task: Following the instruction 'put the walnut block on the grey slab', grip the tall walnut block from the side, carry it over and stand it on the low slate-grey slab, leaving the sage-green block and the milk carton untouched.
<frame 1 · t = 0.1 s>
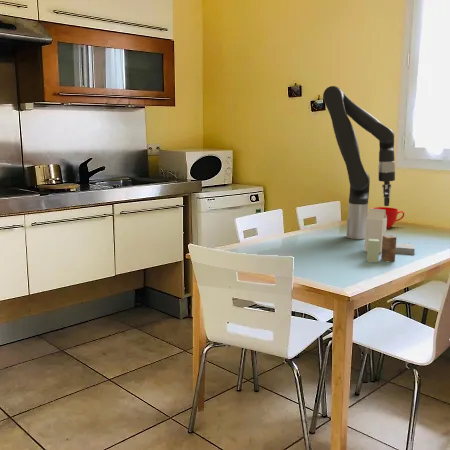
hand: (386, 204, 251), 17 cm above the table, tool pointing down, fingers open, 8 cm apart
sage block: (372, 261, 215), on the table
grey slab: (403, 252, 231), on the table
ceramic cup: (387, 227, 285), on the table
milk carton: (374, 251, 231), on the table
walnut block: (387, 260, 216), on the table
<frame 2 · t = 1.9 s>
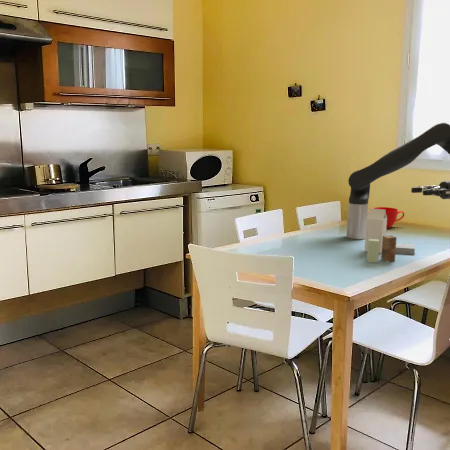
hand: (417, 191, 213), 28 cm above the table, tool horizontal, fingers open, 8 cm apart
nothing on the table moved.
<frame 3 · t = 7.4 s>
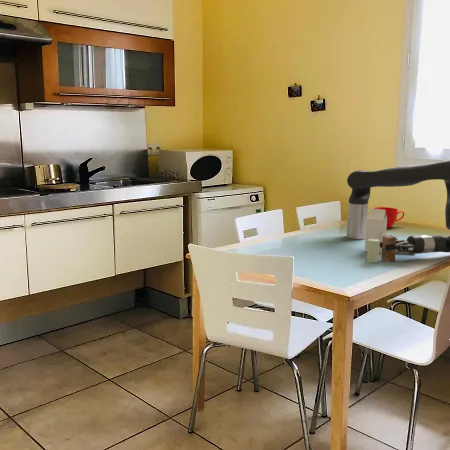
hand: (382, 246, 215), 6 cm above the table, tool horizontal, fingers closed on walnut block, 4 cm apart
walnut block: (388, 260, 216), on the table, touching gripper
everything else where it was.
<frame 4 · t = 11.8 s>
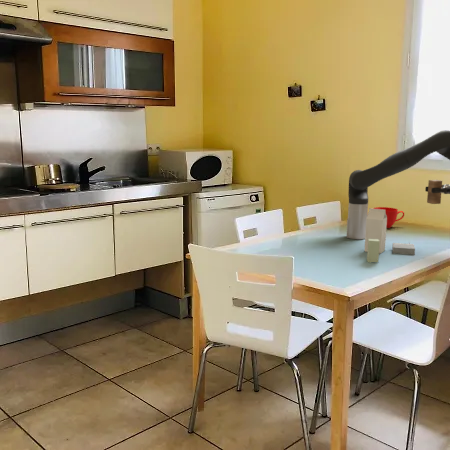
hand: (429, 189, 228), 27 cm above the table, tool horizontal, fingers closed on walnut block, 4 cm apart
walnut block: (433, 203, 230), point 21 cm above the table, touching gripper
everything else where it was.
when the fingers open (10 cm above the table, at t = 16.2 s): walnut block drops 1 cm, resting on grey slab.
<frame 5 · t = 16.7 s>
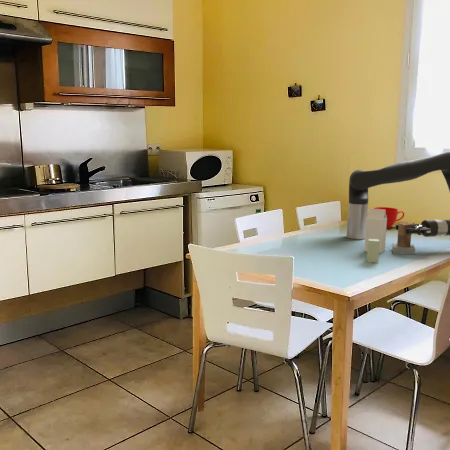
hand: (400, 229, 229), 10 cm above the table, tool horizontal, fingers open, 8 cm apart
grey slab: (403, 252, 231), on the table, touching walnut block
walnut block: (403, 245, 231), point 3 cm above the table, touching grey slab
everything else where it was.
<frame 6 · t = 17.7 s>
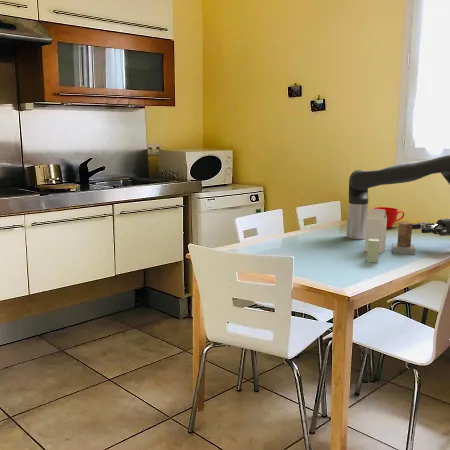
hand: (416, 228, 230), 10 cm above the table, tool horizontal, fingers open, 8 cm apart
grey slab: (403, 252, 231), on the table
walnut block: (403, 245, 231), point 3 cm above the table
everything else where it was.
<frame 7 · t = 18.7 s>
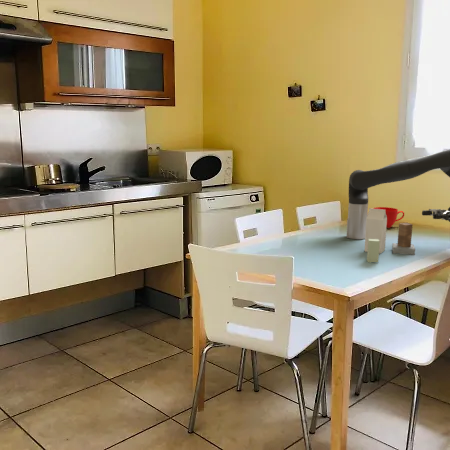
hand: (427, 214, 230), 16 cm above the table, tool horizontal, fingers open, 8 cm apart
grey slab: (403, 252, 231), on the table, touching walnut block
walnut block: (404, 245, 231), point 2 cm above the table, touching grey slab
everything else where it was.
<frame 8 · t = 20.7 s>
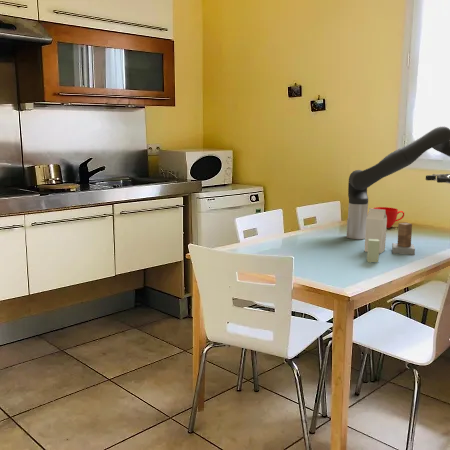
hand: (431, 178, 227), 32 cm above the table, tool horizontal, fingers open, 8 cm apart
nothing on the table moved.
at the end: walnut block 0.3 cm off-centre on the grey slab, point 3.1 cm above the grey slab's base; walnut block tilted 1°; sage block moved 0.0 cm from its start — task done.
